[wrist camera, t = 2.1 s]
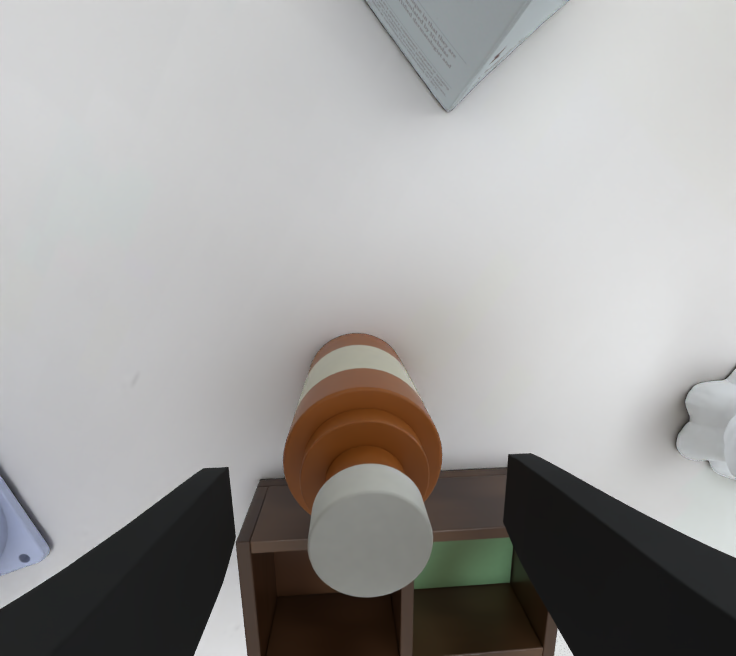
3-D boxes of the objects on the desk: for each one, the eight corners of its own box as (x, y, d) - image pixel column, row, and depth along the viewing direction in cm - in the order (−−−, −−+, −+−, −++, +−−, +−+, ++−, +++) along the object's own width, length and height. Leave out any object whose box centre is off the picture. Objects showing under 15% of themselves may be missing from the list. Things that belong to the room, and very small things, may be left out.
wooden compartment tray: (269, 595, 20) (249, 682, 16) (259, 479, 18) (235, 542, 14) (513, 578, 20) (554, 657, 16) (523, 466, 19) (571, 522, 15)
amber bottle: (328, 435, 18) (306, 664, 8) (293, 352, 17) (216, 492, 7) (415, 404, 18) (506, 594, 8) (385, 319, 17) (445, 410, 7)
